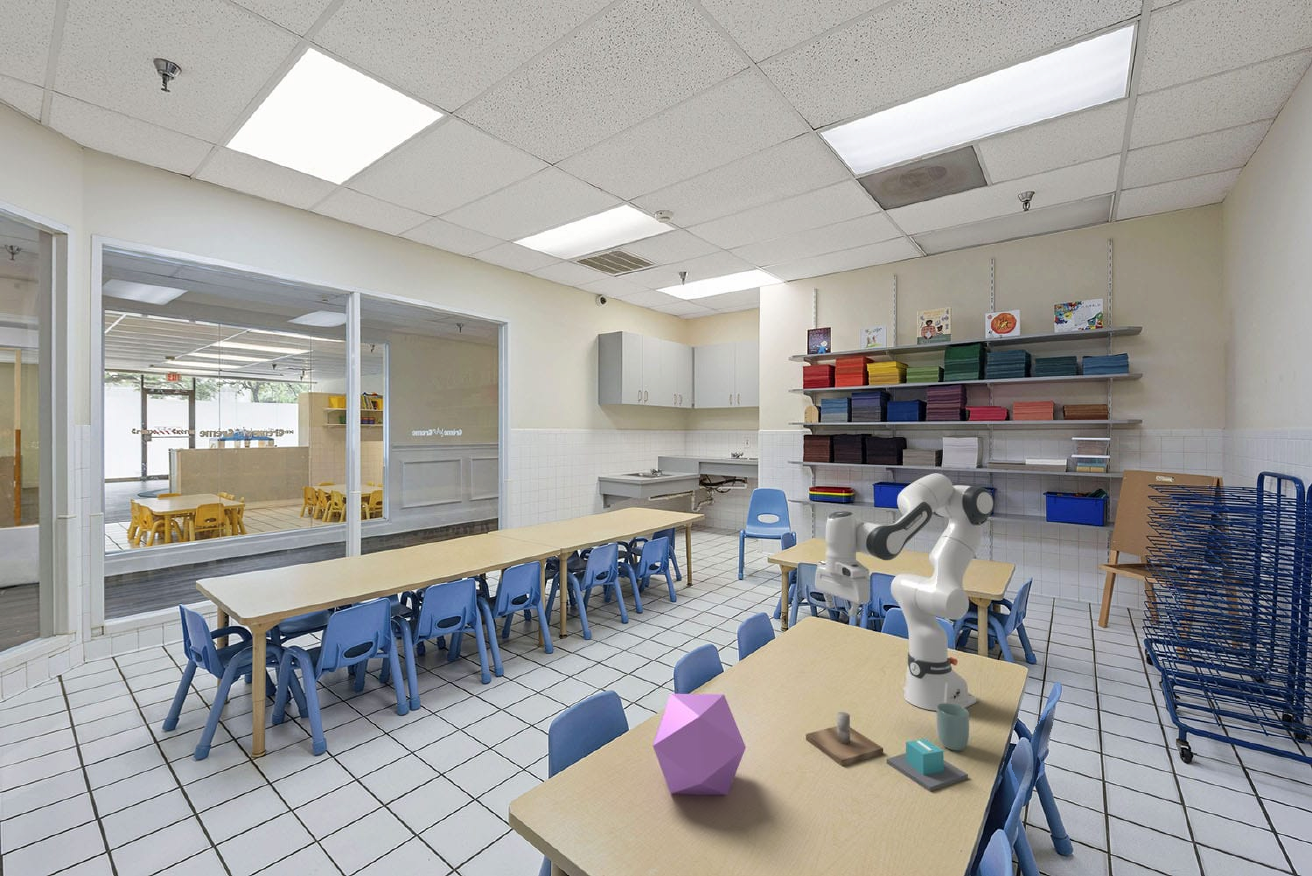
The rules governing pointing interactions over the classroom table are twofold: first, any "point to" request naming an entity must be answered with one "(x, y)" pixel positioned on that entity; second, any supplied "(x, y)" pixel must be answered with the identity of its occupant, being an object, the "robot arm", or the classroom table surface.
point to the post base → (842, 749)
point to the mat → (928, 780)
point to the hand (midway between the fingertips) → (840, 611)
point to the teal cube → (924, 756)
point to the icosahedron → (698, 744)
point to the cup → (953, 726)
